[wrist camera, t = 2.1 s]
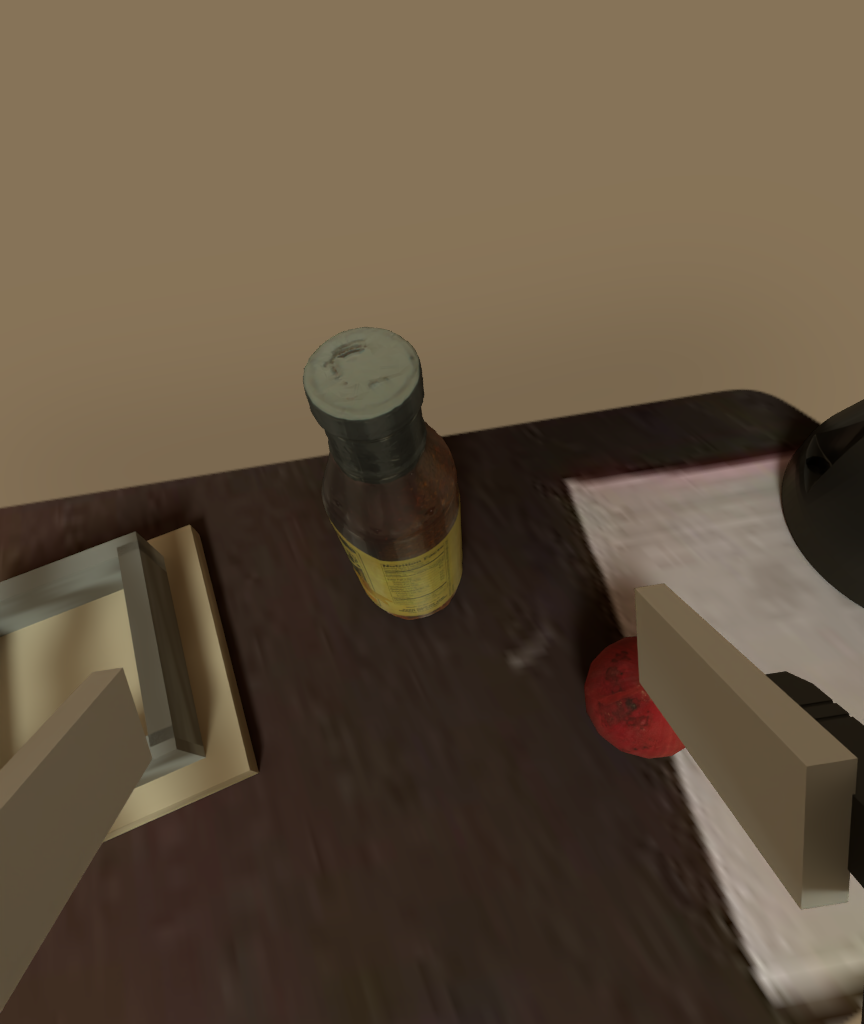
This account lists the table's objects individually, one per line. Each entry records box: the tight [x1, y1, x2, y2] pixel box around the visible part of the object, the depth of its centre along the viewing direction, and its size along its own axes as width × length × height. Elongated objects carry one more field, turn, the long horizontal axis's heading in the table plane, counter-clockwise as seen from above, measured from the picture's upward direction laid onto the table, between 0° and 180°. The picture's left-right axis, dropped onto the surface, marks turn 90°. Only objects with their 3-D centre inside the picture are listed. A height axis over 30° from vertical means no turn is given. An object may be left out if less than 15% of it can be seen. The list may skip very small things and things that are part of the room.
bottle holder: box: [0, 525, 259, 842], centre depth 33 cm, size 16×16×5 cm
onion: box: [584, 636, 685, 758], centre depth 29 cm, size 6×6×8 cm
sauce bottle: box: [303, 327, 462, 620], centre depth 29 cm, size 6×6×20 cm
